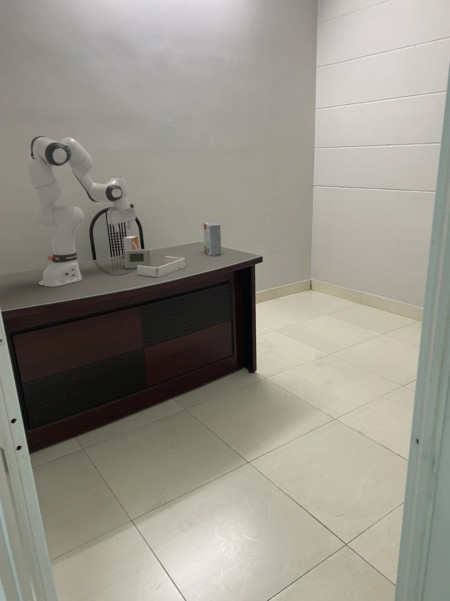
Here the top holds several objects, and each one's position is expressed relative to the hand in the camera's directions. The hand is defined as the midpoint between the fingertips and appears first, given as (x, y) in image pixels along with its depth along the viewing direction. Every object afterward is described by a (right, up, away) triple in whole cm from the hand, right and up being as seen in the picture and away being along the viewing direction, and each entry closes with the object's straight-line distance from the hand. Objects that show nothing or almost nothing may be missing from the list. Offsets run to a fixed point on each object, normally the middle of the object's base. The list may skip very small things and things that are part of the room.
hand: (123, 230), depth 247 cm
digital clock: (+9, -22, +2) cm, 24 cm away
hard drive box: (+51, -10, +36) cm, 63 cm away
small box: (-2, -12, +32) cm, 34 cm away
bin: (+24, -24, -6) cm, 35 cm away
